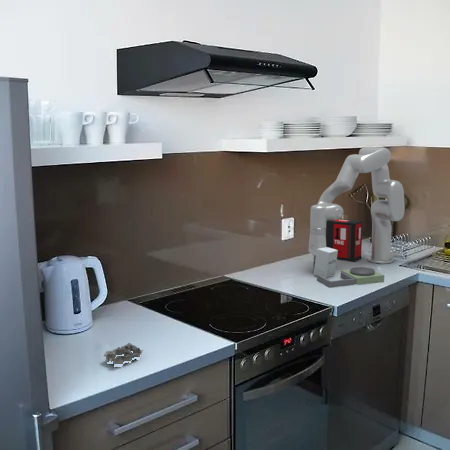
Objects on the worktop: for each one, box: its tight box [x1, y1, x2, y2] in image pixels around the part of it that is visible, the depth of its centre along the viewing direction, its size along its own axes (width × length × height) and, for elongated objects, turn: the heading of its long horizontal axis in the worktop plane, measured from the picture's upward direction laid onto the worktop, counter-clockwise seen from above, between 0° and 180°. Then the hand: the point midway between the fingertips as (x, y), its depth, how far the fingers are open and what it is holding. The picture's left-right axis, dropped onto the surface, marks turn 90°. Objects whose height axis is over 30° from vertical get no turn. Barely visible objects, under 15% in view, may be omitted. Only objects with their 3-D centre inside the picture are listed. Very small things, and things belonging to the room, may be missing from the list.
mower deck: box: [316, 266, 385, 288], centre depth 252 cm, size 27×14×4 cm, turn 108°
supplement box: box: [313, 247, 338, 279], centre depth 259 cm, size 7×7×13 cm
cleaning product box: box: [325, 218, 363, 263], centre depth 291 cm, size 16×9×20 cm, turn 53°
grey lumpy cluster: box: [103, 342, 144, 364], centre depth 170 cm, size 11×8×4 cm
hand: (317, 268), depth 266 cm, fingers closed
